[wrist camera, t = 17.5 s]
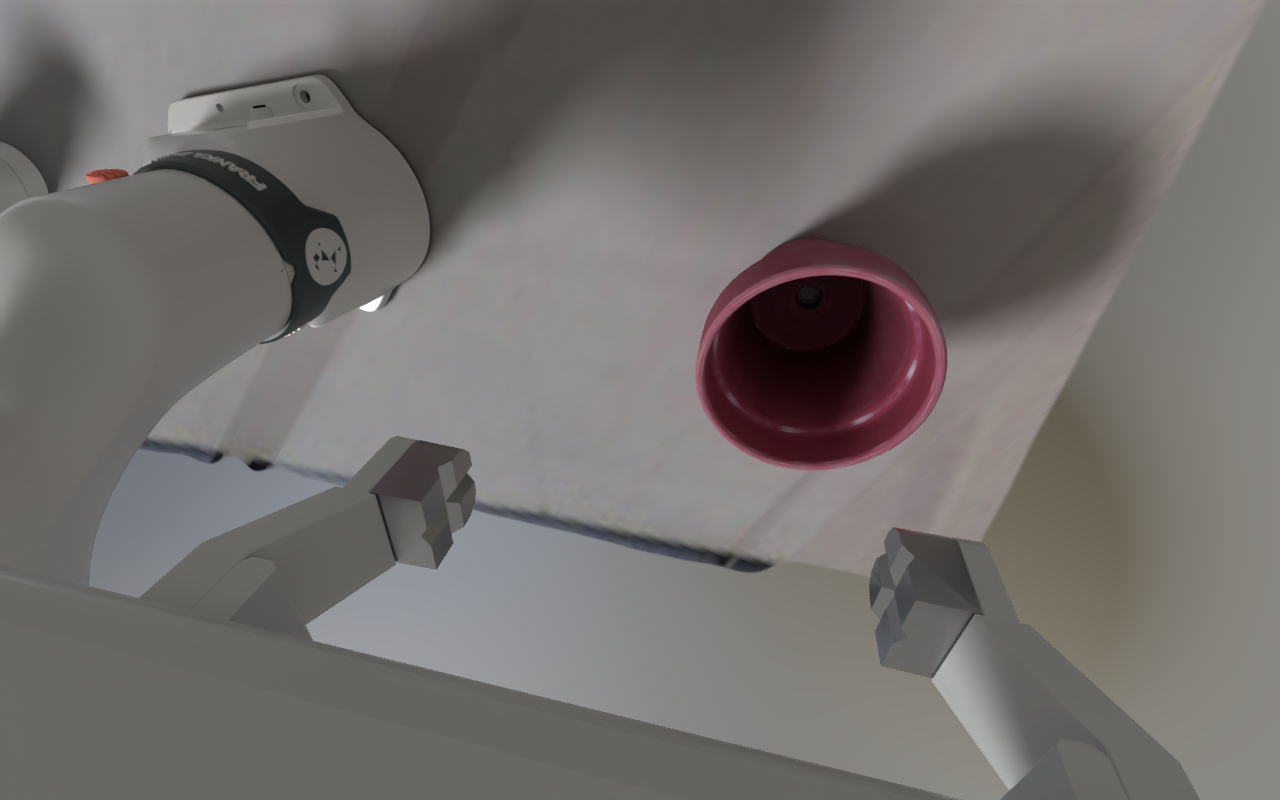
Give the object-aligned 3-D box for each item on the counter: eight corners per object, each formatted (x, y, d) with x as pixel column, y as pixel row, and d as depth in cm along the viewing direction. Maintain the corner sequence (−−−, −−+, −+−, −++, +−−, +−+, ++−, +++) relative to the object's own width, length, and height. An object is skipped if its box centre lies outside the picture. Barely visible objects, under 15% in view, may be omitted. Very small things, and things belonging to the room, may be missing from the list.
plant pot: (814, 404, 48) (824, 508, 37) (679, 314, 46) (651, 398, 35) (950, 275, 40) (1011, 361, 29) (794, 160, 38) (801, 209, 27)
